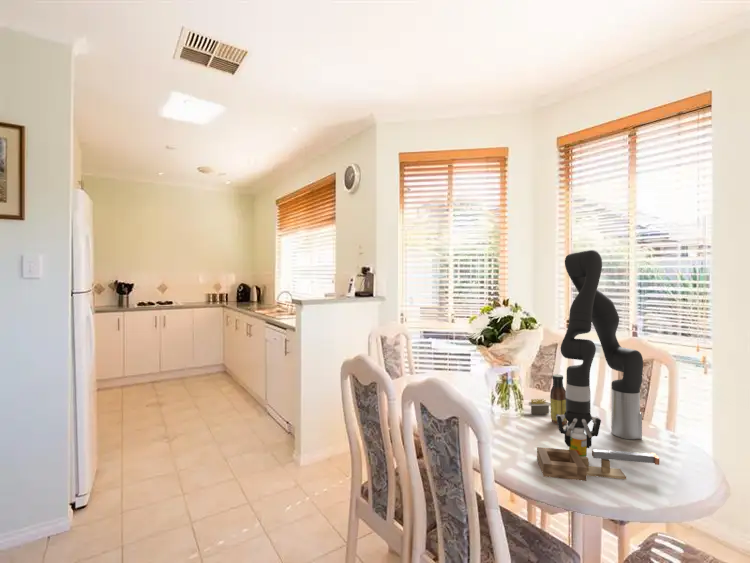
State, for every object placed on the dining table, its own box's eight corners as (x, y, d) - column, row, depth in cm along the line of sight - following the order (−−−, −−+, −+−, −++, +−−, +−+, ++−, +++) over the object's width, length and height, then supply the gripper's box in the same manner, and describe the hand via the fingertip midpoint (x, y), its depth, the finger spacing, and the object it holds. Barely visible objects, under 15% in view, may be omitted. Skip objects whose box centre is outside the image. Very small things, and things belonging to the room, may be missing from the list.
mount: (620, 471, 125) (620, 457, 125) (626, 479, 120) (626, 464, 120) (578, 467, 128) (578, 453, 128) (583, 475, 123) (583, 461, 123)
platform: (513, 410, 183) (513, 395, 183) (552, 409, 184) (552, 395, 183) (524, 419, 171) (524, 404, 171) (566, 418, 172) (565, 403, 171)
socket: (576, 462, 131) (576, 450, 131) (586, 481, 119) (586, 467, 119) (537, 458, 134) (537, 447, 134) (543, 476, 122) (543, 463, 122)
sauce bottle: (564, 420, 168) (564, 373, 168) (570, 426, 162) (570, 377, 162) (548, 419, 169) (548, 373, 169) (553, 425, 163) (553, 377, 162)
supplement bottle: (565, 453, 138) (565, 425, 138) (576, 450, 140) (576, 422, 140) (579, 459, 133) (579, 430, 133) (590, 456, 135) (590, 428, 135)
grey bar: (653, 459, 122) (654, 452, 122) (659, 464, 119) (659, 458, 119) (591, 454, 126) (591, 447, 126) (594, 459, 123) (594, 452, 123)
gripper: (557, 399, 134) (557, 449, 134) (604, 402, 131) (604, 453, 131) (553, 392, 141) (553, 440, 142) (597, 395, 138) (597, 443, 138)
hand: (577, 446), depth 136 cm, fingers closed on supplement bottle, 5 cm apart
